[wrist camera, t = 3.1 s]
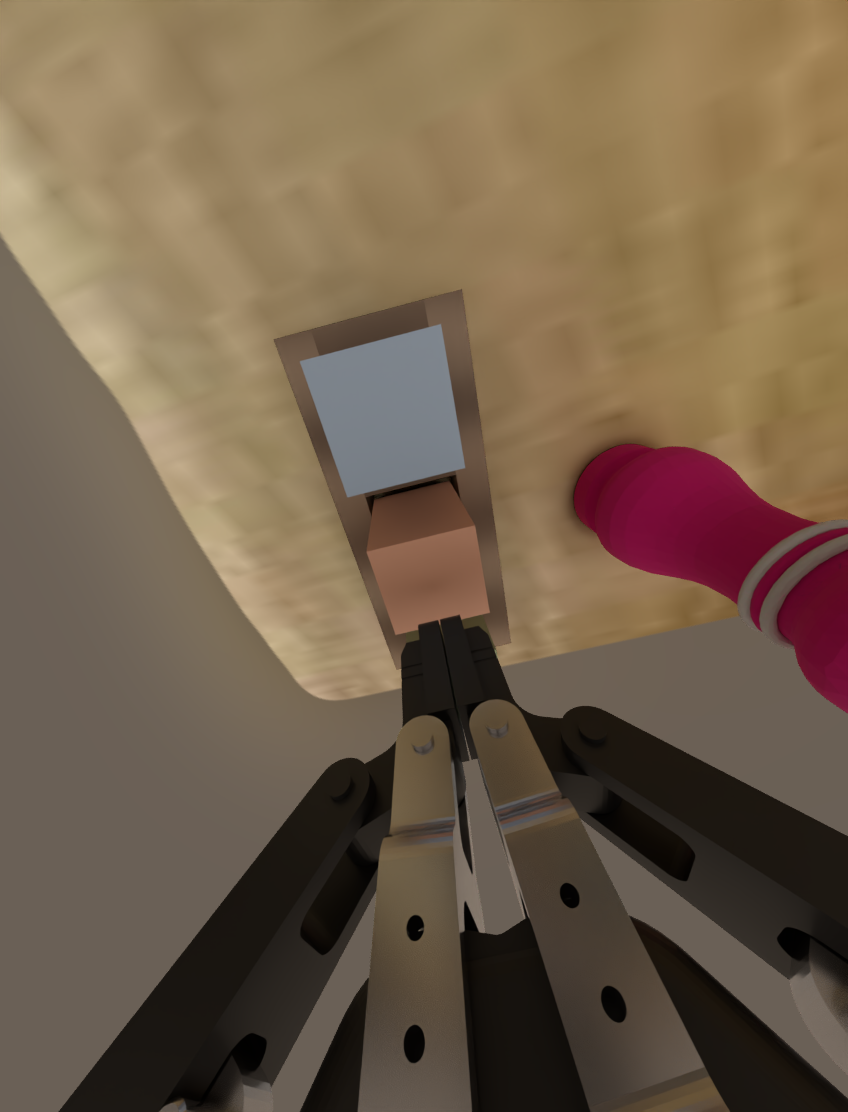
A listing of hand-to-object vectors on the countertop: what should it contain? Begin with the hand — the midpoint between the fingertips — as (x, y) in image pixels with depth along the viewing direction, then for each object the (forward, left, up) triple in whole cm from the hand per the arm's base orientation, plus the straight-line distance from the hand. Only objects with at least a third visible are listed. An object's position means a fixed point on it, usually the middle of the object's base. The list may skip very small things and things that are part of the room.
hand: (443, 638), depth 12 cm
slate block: (-7, 0, -10) cm, 13 cm away
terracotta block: (0, 0, -11) cm, 11 cm away
